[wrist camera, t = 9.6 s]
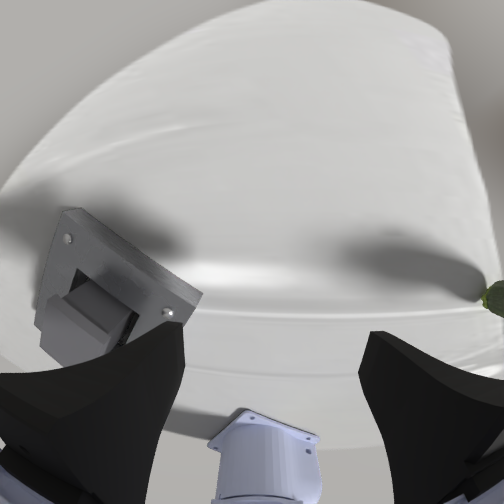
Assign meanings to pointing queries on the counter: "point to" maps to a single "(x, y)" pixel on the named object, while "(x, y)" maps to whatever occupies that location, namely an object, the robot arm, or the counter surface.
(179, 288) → the socket plate
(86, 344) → the plug
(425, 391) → the robot arm
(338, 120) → the counter surface
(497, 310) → the vegetable
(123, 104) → the counter surface
